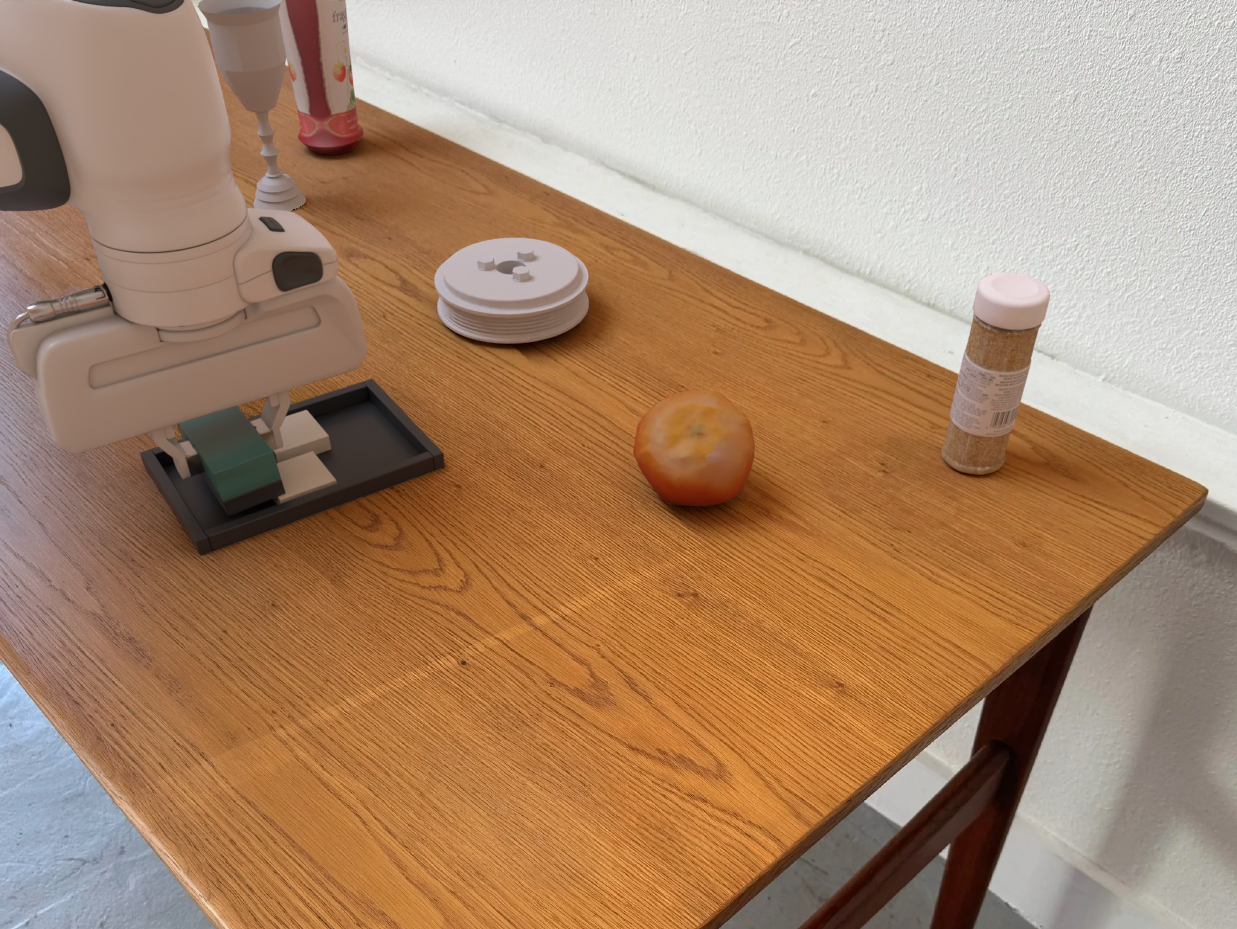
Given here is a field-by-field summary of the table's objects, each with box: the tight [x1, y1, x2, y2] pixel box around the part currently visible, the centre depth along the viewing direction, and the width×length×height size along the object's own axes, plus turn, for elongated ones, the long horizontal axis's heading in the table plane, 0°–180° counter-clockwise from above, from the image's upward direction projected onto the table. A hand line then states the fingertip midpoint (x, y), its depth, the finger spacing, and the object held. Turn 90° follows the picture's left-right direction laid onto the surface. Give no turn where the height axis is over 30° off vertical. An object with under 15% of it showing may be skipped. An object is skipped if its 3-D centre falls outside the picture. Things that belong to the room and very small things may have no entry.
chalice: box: [196, 0, 307, 212], centre depth 109 cm, size 7×7×18 cm
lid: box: [433, 237, 590, 344], centre depth 98 cm, size 13×13×5 cm
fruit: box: [633, 388, 756, 507], centre depth 80 cm, size 8×8×8 cm
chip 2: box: [273, 451, 337, 505], centre depth 80 cm, size 4×4×1 cm
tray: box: [139, 378, 446, 557], centre depth 82 cm, size 18×12×2 cm, turn 124°
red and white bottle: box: [278, 0, 365, 156], centre depth 116 cm, size 7×7×28 cm
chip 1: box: [272, 410, 331, 463], centre depth 84 cm, size 4×4×1 cm
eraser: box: [176, 405, 286, 516], centre depth 79 cm, size 8×4×4 cm, turn 33°
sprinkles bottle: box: [940, 272, 1051, 476], centre depth 80 cm, size 5×5×14 cm
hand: (231, 458), depth 79 cm, fingers closed on eraser, 4 cm apart
